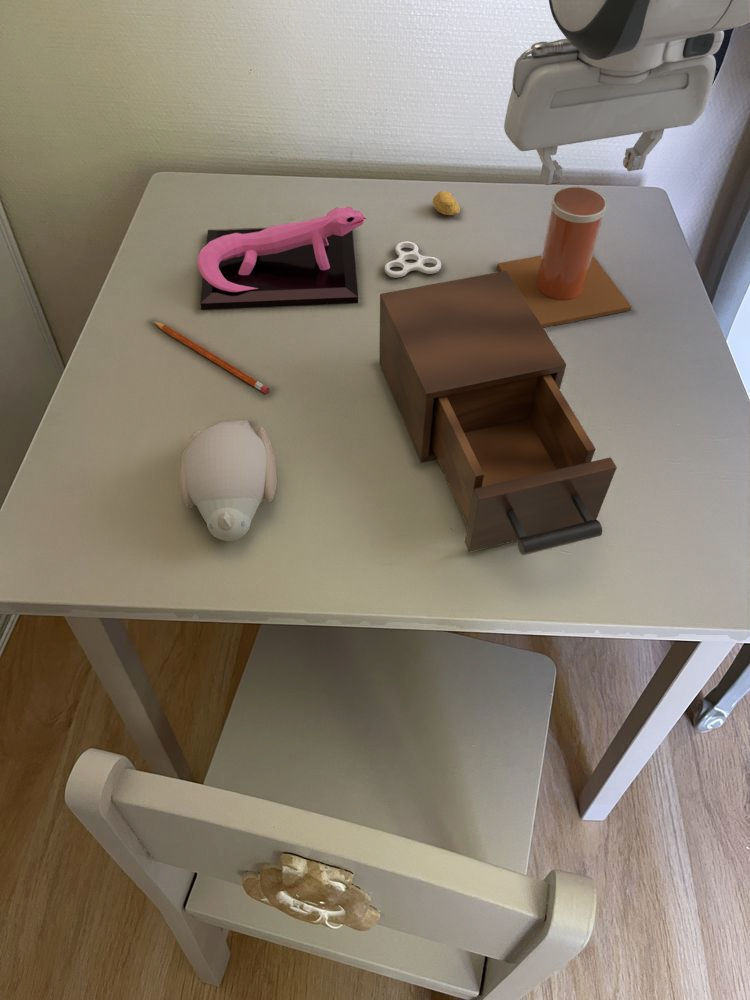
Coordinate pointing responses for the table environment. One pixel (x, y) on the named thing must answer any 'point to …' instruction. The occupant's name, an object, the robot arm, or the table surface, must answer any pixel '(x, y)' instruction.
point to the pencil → (214, 358)
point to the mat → (589, 304)
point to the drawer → (520, 465)
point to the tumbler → (570, 242)
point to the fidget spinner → (411, 266)
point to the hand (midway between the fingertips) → (591, 174)
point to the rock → (446, 203)
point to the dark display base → (281, 264)
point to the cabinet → (458, 345)
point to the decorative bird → (228, 476)
